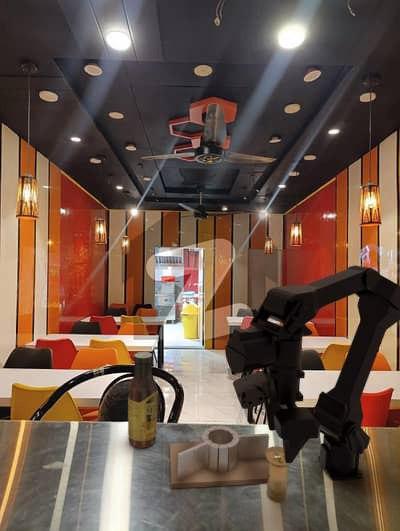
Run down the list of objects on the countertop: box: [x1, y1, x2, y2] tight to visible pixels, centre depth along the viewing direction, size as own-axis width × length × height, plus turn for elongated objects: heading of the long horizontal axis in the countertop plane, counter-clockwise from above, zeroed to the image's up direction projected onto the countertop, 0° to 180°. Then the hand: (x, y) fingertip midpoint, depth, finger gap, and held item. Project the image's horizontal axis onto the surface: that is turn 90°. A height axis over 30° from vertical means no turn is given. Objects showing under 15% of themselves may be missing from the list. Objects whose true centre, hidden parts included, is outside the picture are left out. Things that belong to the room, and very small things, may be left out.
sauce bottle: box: [127, 351, 158, 449], centre depth 80 cm, size 7×6×20 cm
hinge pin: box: [265, 445, 292, 504], centre depth 65 cm, size 5×5×8 cm
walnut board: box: [169, 441, 268, 490], centre depth 74 cm, size 20×12×1 cm, turn 96°
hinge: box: [178, 425, 270, 480], centre depth 72 cm, size 19×9×5 cm, turn 96°
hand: (279, 445), depth 64 cm, fingers open, 9 cm apart
